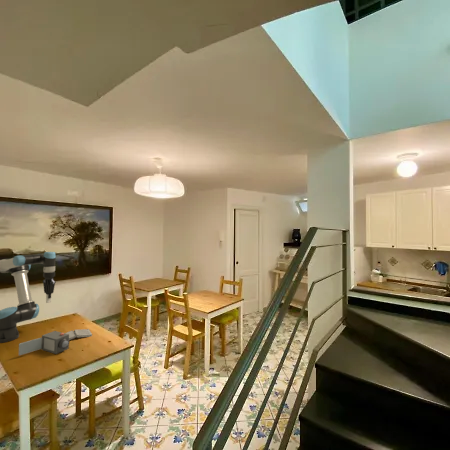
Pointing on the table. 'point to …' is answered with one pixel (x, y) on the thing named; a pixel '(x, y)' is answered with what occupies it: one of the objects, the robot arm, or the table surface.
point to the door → (30, 346)
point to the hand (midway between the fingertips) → (48, 302)
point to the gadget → (79, 333)
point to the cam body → (55, 342)
